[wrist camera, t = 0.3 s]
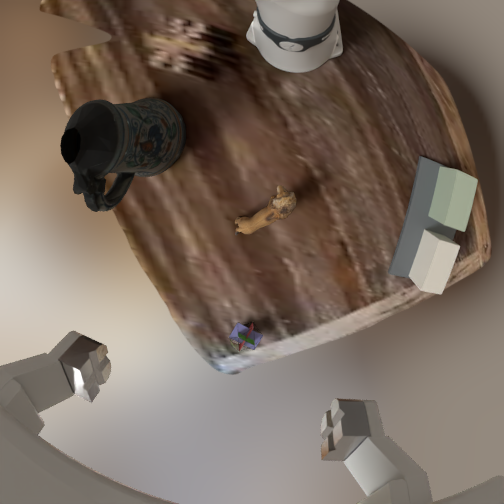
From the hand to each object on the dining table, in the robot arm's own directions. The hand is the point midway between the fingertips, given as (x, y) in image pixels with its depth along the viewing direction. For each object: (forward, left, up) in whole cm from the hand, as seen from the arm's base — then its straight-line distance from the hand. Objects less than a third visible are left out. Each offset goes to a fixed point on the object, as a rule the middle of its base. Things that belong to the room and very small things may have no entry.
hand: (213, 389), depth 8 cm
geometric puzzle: (+33, 0, -47) cm, 58 cm away
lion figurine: (+4, -1, -47) cm, 48 cm away
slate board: (-1, +35, -47) cm, 59 cm away
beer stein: (-6, -26, -47) cm, 54 cm away
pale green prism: (-8, +36, -46) cm, 59 cm away
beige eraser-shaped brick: (+6, +36, -46) cm, 59 cm away
